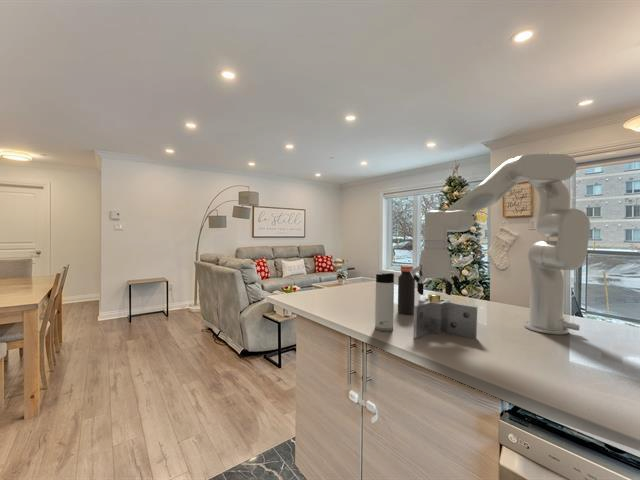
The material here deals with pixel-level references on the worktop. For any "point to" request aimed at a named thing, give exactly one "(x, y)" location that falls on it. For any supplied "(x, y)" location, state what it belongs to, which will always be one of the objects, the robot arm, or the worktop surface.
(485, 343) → the worktop surface
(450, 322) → the hinge
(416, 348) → the worktop surface
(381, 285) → the travel mug
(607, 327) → the worktop surface
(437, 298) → the hinge pin
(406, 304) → the bottle
